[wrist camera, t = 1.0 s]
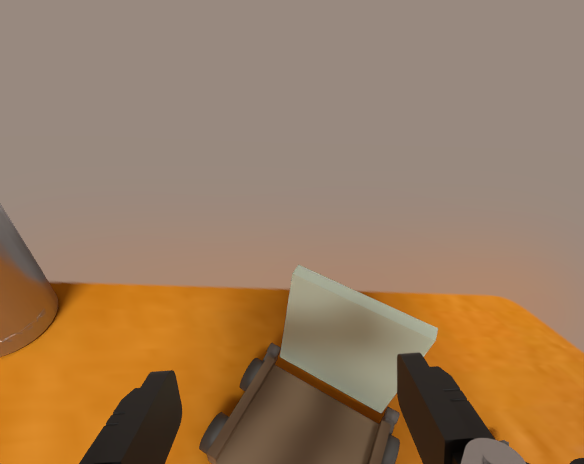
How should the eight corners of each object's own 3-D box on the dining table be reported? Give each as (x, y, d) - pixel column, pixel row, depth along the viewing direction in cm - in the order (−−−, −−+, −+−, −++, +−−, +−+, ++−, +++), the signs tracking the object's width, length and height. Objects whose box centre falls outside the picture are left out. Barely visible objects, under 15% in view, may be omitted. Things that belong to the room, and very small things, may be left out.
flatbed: (199, 456, 27) (196, 445, 25) (265, 353, 34) (267, 338, 32) (359, 571, 23) (370, 568, 21) (396, 426, 30) (407, 414, 28)
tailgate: (279, 356, 31) (292, 273, 23) (284, 348, 32) (298, 264, 24) (381, 413, 28) (435, 340, 20) (384, 402, 29) (438, 328, 21)
